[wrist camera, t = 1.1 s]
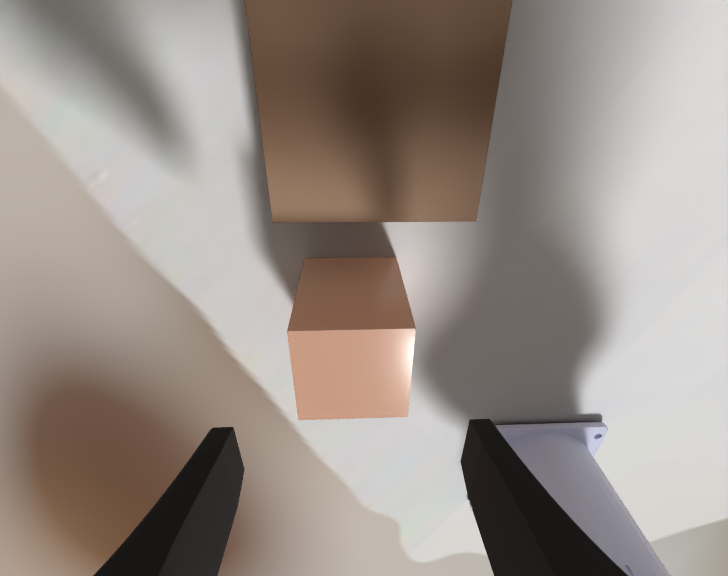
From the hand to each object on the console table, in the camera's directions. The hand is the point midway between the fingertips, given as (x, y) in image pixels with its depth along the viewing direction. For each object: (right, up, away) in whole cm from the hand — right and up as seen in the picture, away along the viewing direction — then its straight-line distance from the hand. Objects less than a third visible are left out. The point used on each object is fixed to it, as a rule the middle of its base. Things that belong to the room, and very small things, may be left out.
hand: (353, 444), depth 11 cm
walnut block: (+1, +12, +4) cm, 13 cm away
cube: (0, +4, +8) cm, 9 cm away
